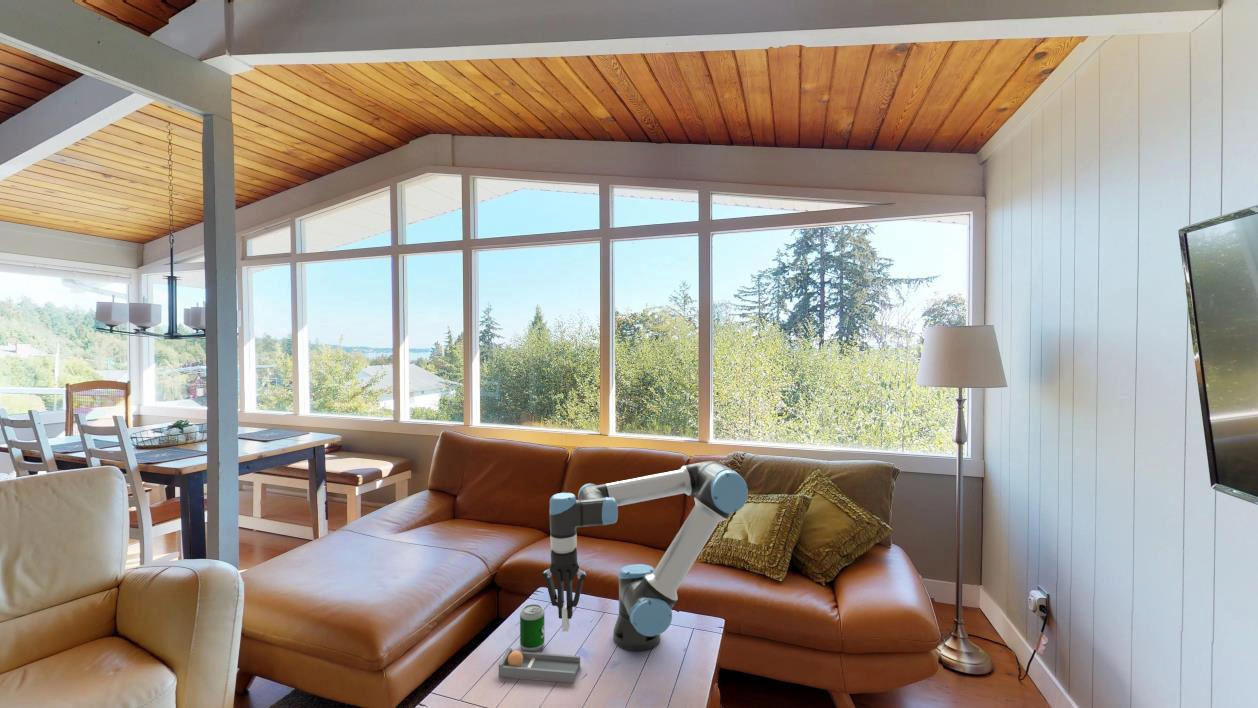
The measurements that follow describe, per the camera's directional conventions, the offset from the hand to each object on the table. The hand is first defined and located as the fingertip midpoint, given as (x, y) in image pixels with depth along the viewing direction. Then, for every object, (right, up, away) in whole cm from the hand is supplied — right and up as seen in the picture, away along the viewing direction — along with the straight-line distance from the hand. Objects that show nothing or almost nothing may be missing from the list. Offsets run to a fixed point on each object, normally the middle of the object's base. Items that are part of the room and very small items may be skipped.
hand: (566, 628), depth 156 cm
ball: (-15, -10, +1) cm, 18 cm away
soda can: (-12, -13, +14) cm, 22 cm away
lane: (-8, -13, +1) cm, 15 cm away
